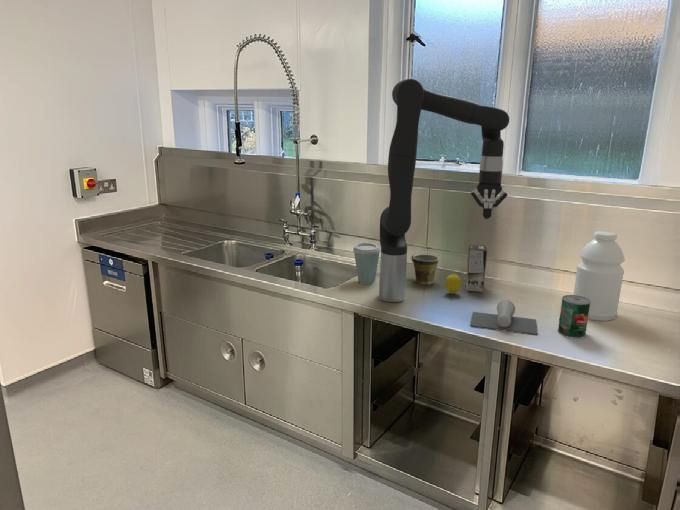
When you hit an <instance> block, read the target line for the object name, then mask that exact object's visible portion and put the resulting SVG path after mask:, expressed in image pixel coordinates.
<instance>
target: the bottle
mask: <svg viewBox="0 0 680 510" xmlns="http://www.w3.org/2000/svg"><path fill="white" fill-rule="evenodd" d="M617 236H618V235H617V234H616V233H615V232H612V231H607V230H596V231H594V232H593V239H592V240H590V241H589V242H588V243H586V244H585V245H584V246H583V248H582V250H581V251H580V253H579V257H580V258H581V259H582V260H581V261H579V262H578V263H577V265H576V275H575V282H574V290H573V295H577V296H582V297H585V298H587V299H589V300H590V308H589V314H588V320H592V321H601V322H602V321H603V322H605V321H612V320H615V319H616V317H617V315H618V308H619V303H620V297H621V296H620V295H621V290H622V289H621V288H622V283H623V279H624V273H625V270H624V268H623V267H622V266H621V264H622V263H624V262H625V261H626V260H625V256H624V252H623V250H622V248H621V247H620V245H619V244H618V242H616V241H617V238H618V237H617Z"/></svg>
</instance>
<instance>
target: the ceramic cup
mask: <svg viewBox="0 0 680 510" xmlns="http://www.w3.org/2000/svg"><path fill="white" fill-rule="evenodd" d="M411 261H412V263H413V267H414V274H415V281H416V283H418V284H420V285H426V286H427V285H431V284H433V282H434V278H435V274H436V270H437V267H438V265H439V257H438V256H436V255H433V254H424V253H423V254H415V255H412V256H411Z"/></svg>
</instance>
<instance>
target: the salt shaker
mask: <svg viewBox="0 0 680 510" xmlns="http://www.w3.org/2000/svg"><path fill="white" fill-rule="evenodd" d="M496 310H497V311H496V312H497V315H499V316H498V318H497V323H498V325H499V326H500V327H503V328H506V327H508V326H510V324H511V317H512V316H513V315H514V314H515V312H516V305H515V304H514V303H513V302H512V301H511V300H510V299H503V300H500V301H499V302H498V303H497V306H496ZM513 317H514V316H513Z"/></svg>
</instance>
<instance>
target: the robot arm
mask: <svg viewBox="0 0 680 510" xmlns="http://www.w3.org/2000/svg"><path fill="white" fill-rule="evenodd" d="M391 97H392V100H393V102H394V104H395V105H396V109H397V110H396V123H395V127H394V131H393V135H392V138H391V142H390V144H389V145H390V146H389V148H388V149H389V151H388V159H387V161H388V162H387V176H388V183H389V191H390V193H389V194H390V195H389V198H390V199H389V206H387V207H385V208H384V210H383V211H382V212H381V215H380V216H379V217H380V218H379V243H380V244H379V245H380V268H379V269H380V271H379V281H378V282H379V283H378V284H379V285H378V286H379V287H378V288H379V289H378V300H379V301H384V302H388V303H400V302H403V301H405V298H406V283H407V281H406V280H407V257H408V245H407V242H406V233H408V231H409V229H410V227H411V224H412V193H413V187H414V179H415V170H416V163H417V152H418V139H419V124H420V117H421V112H422V111H426V112H431V113H433V114H437V115H439V116H440V115H441V116H443V117H447V118H449V119H452V120H455V121H458V122H462V123H465V124H468V125H477V126H480V128H481V139H482V145H481V147H482V148H481V157H480V161H479V176H478V184H477V186H476V188H475V189H474V190H471V191H470V195H471V197H472V198H473V199H474V201H475V202H476V204H477V205H478V206H479V207H481V208H482V217H483V218H484V219H485V220H488V219H490V218H491V217H492V211H493V208H497V207H499V205H500V204H502V203H503V201H504V200H505V199H506V197H508V193H507V192H506V191H504V190H503V186H502V177H503V167H504V160H503V159H504V157H503V156H504V147H505V146H504V144H505V143H504V140H503V139H502V137H501V131H503V130H505V129H506V128H507V127H508V125H509V123H510V116H509V114H508V112H507V111H505V110H504V109H501V108H499V107H498V108H497V107H493V106H489V105H483V104H480V103H477V102H474V101H471V100H468V99H464V98H459V97H457V96H451V95H446V94H440V93H437V92H433V91H430V90H428V89H425V88H424V87H423V85H422V83H421V82H420V81H419V80H418V79H415V78H407V79H402V80H401V81H398V82H397V83H396V84H395V85H394V87H393V89H392V92H391ZM479 195H480V197H481V198H482V202H481V200H480V199H479V197H478V196H479ZM498 195H499V196H498ZM497 196H498V198H497V199H496V197H497ZM495 199H496V200H495Z"/></svg>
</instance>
